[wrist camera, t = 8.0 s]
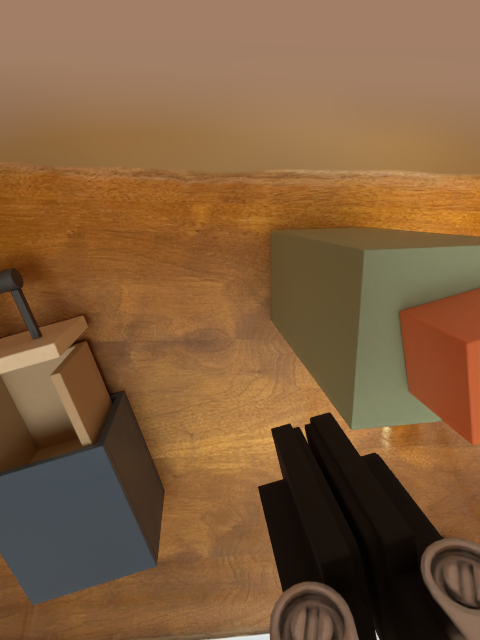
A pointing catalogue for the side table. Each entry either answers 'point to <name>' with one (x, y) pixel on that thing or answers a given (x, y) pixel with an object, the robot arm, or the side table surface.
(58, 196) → the side table surface
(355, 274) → the stand
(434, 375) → the block
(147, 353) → the side table surface
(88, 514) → the cabinet
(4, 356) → the drawer
